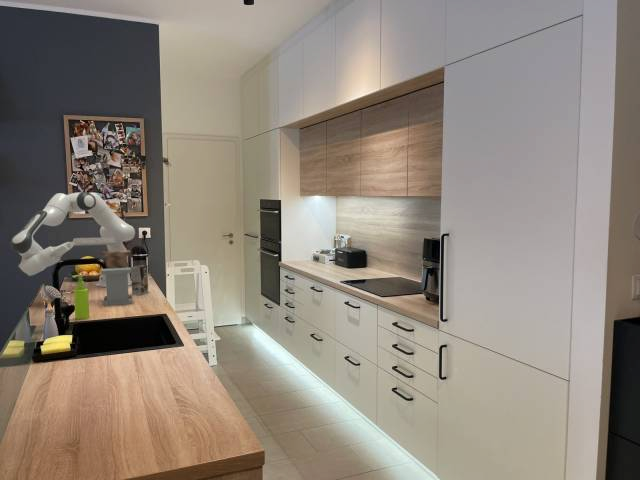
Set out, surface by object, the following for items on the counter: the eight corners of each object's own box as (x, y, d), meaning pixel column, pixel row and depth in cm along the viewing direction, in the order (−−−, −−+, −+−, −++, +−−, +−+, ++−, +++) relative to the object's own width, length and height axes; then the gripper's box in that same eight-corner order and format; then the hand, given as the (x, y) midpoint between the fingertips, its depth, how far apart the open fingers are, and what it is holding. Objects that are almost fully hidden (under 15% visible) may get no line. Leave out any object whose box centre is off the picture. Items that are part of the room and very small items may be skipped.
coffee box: (143, 295, 282) (142, 266, 281) (131, 295, 283) (130, 266, 281) (148, 292, 291) (147, 264, 290) (137, 292, 292) (136, 264, 290)
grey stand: (102, 306, 255) (101, 271, 253) (103, 302, 262) (102, 268, 261) (132, 303, 260) (130, 269, 258) (132, 300, 267) (130, 267, 265)
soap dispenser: (70, 318, 228) (68, 275, 226) (83, 315, 234) (81, 273, 232) (78, 320, 225) (76, 276, 224) (92, 317, 231) (90, 274, 230)
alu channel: (73, 245, 259) (73, 238, 259) (74, 244, 263) (74, 238, 263) (115, 244, 266) (114, 237, 266) (115, 243, 270) (115, 237, 270)
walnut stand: (104, 301, 265) (101, 253, 263) (104, 298, 272) (102, 251, 270) (132, 299, 270) (130, 251, 268) (132, 297, 277) (130, 250, 275)
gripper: (45, 251, 248) (71, 237, 251) (51, 247, 267) (76, 234, 270) (53, 262, 249) (79, 247, 253) (58, 257, 268) (82, 244, 272)
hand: (77, 240), depth 262 cm, fingers closed on alu channel, 4 cm apart
